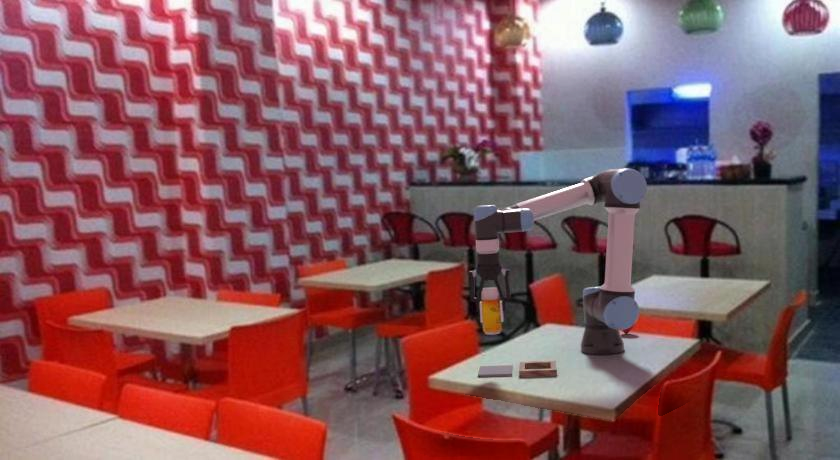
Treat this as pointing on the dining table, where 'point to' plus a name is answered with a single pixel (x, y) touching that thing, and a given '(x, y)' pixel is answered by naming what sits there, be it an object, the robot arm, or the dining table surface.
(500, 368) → the coaster
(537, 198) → the robot arm
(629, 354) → the dining table surface
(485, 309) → the glass of beer
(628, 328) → the strawberry
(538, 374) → the tray
